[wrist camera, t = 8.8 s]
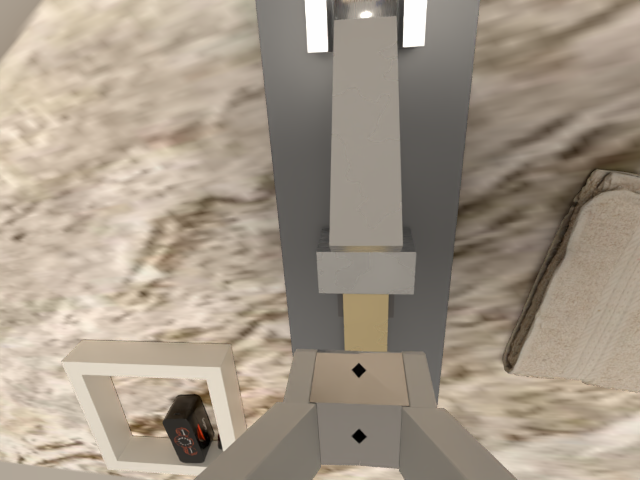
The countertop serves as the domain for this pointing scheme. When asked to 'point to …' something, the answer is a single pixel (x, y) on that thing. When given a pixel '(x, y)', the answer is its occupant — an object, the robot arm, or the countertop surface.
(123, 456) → the white square frame
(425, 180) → the lug board
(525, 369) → the washcloth
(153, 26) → the countertop surface
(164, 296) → the countertop surface
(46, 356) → the countertop surface
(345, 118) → the steel strap
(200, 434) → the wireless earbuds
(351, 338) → the brass strap
